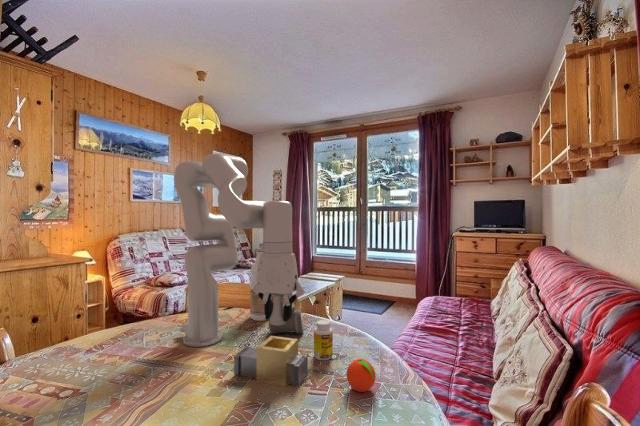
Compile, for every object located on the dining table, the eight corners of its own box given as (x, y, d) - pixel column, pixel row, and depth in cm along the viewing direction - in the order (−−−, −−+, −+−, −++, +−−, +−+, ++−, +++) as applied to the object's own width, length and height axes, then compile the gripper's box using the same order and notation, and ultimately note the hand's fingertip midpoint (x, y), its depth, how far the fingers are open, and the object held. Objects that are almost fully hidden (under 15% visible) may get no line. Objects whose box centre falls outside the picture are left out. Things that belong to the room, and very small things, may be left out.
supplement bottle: (320, 363, 88) (320, 326, 88) (310, 355, 93) (310, 321, 93) (336, 358, 91) (336, 323, 91) (325, 351, 96) (325, 317, 96)
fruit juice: (247, 315, 129) (247, 248, 129) (269, 312, 133) (269, 246, 133) (254, 322, 120) (253, 250, 121) (277, 319, 125) (277, 249, 125)
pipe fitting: (304, 326, 115) (301, 299, 114) (304, 337, 107) (300, 308, 106) (272, 330, 115) (268, 303, 114) (269, 341, 107) (265, 312, 106)
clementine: (384, 394, 73) (385, 363, 73) (362, 404, 69) (362, 371, 69) (362, 379, 79) (362, 351, 79) (340, 387, 76) (340, 357, 76)
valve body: (232, 377, 80) (232, 344, 80) (248, 362, 88) (248, 332, 88) (297, 388, 75) (297, 353, 75) (308, 372, 83) (308, 340, 83)
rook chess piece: (270, 320, 83) (269, 290, 83) (286, 319, 83) (286, 289, 83) (268, 326, 78) (268, 294, 78) (286, 325, 79) (286, 293, 79)
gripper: (241, 249, 80) (241, 320, 80) (303, 251, 75) (303, 327, 75) (256, 246, 87) (256, 311, 87) (313, 247, 82) (313, 317, 82)
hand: (278, 318), depth 81 cm, fingers closed on rook chess piece, 4 cm apart
